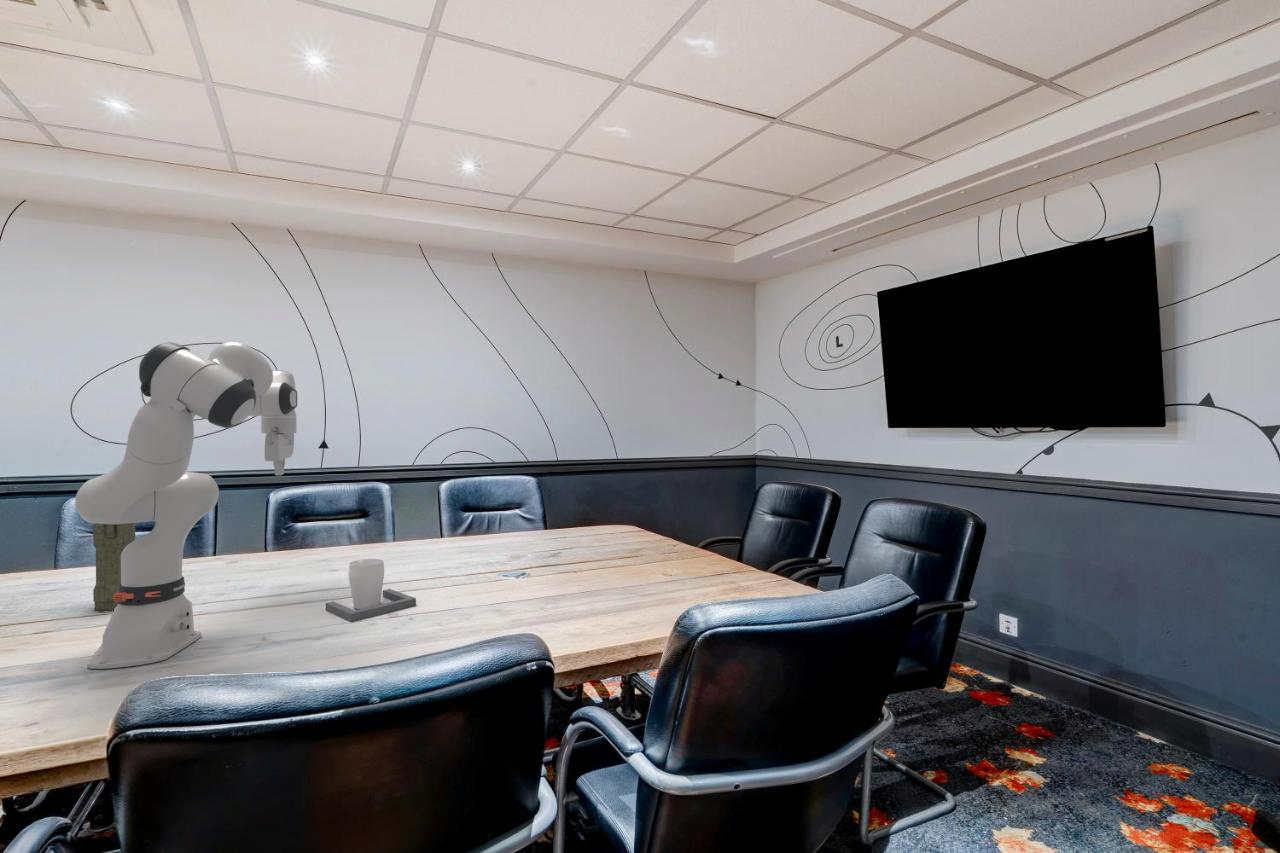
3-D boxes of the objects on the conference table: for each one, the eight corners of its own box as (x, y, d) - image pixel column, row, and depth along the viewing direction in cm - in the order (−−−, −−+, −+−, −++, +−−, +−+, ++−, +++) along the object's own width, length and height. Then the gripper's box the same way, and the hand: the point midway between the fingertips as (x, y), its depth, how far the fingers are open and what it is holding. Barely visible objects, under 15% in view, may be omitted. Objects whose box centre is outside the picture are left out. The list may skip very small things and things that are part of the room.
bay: (325, 610, 166) (325, 602, 166) (389, 595, 180) (389, 588, 180) (350, 622, 157) (350, 614, 157) (416, 605, 171) (416, 598, 171)
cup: (375, 611, 166) (375, 566, 166) (342, 610, 166) (342, 566, 166) (390, 601, 175) (390, 558, 175) (359, 600, 175) (358, 558, 175)
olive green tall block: (91, 615, 161) (90, 481, 161) (95, 604, 171) (94, 478, 170) (135, 609, 167) (134, 479, 166) (136, 599, 176) (135, 476, 175)
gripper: (284, 427, 170) (284, 478, 170) (297, 426, 189) (297, 471, 189) (257, 428, 168) (258, 478, 168) (274, 426, 187) (274, 472, 187)
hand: (279, 475), depth 179 cm, fingers closed
